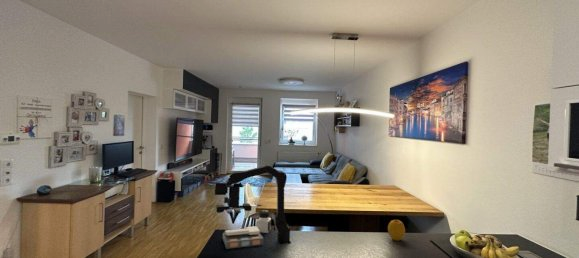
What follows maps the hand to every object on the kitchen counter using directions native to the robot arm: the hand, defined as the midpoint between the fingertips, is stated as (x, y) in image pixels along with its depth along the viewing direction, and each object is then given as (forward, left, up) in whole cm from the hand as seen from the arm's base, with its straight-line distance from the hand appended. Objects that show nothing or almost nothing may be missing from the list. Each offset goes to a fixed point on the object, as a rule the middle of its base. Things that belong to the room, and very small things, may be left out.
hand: (233, 223), depth 166 cm
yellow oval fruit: (-93, +20, -12) cm, 96 cm away
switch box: (-6, -1, -11) cm, 13 cm away
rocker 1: (0, -3, -8) cm, 8 cm away
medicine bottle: (-22, -15, -12) cm, 29 cm away
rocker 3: (-12, -3, -8) cm, 14 cm away
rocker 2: (-6, -3, -8) cm, 10 cm away
